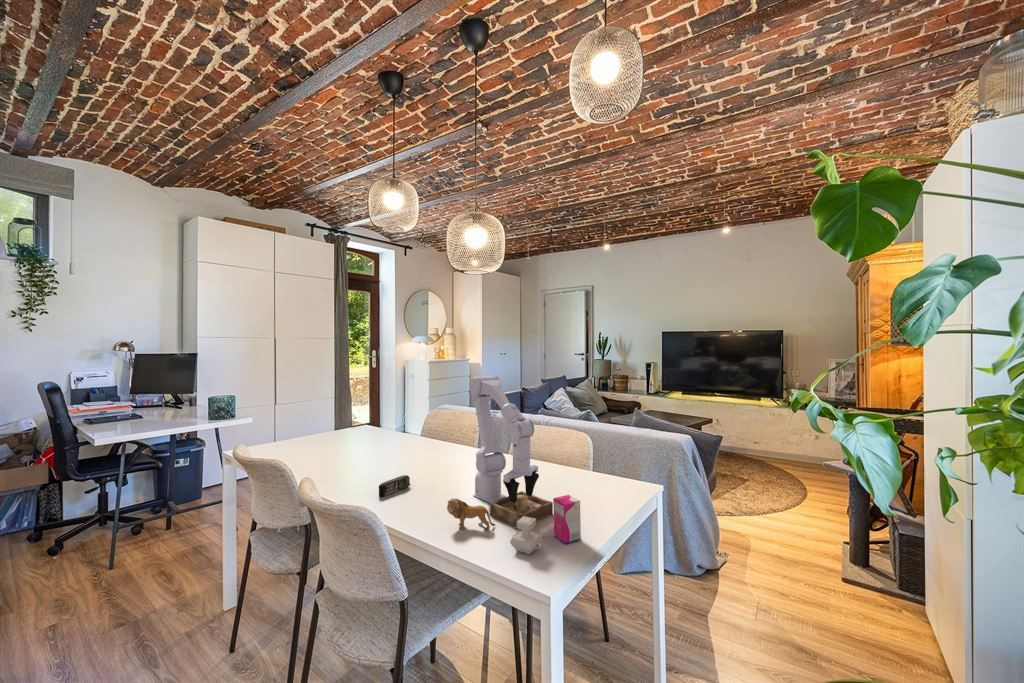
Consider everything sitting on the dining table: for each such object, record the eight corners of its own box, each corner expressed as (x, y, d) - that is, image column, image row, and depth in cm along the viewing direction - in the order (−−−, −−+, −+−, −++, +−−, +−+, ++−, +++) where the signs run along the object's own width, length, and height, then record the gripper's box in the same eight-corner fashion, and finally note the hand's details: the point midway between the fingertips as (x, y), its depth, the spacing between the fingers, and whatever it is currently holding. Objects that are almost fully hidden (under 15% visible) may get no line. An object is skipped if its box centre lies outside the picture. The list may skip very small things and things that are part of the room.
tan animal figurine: (446, 532, 123) (446, 502, 123) (448, 524, 128) (448, 495, 128) (495, 530, 124) (495, 501, 123) (495, 522, 129) (495, 494, 129)
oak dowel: (513, 515, 134) (513, 497, 134) (521, 511, 137) (521, 493, 137) (521, 519, 131) (521, 500, 131) (530, 515, 134) (530, 497, 134)
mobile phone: (382, 485, 148) (413, 473, 161) (376, 484, 150) (407, 471, 162) (382, 499, 148) (413, 485, 161) (377, 497, 150) (408, 484, 163)
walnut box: (490, 515, 134) (490, 503, 134) (521, 502, 145) (521, 491, 145) (521, 529, 124) (521, 516, 124) (552, 514, 135) (552, 502, 135)
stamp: (546, 549, 113) (546, 518, 113) (535, 560, 107) (535, 528, 107) (518, 540, 118) (518, 511, 118) (506, 550, 112) (506, 520, 112)
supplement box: (569, 531, 123) (569, 493, 123) (581, 540, 118) (581, 500, 118) (552, 536, 120) (553, 497, 120) (564, 545, 115) (564, 504, 115)
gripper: (514, 464, 126) (514, 508, 126) (545, 455, 137) (544, 495, 137) (499, 459, 131) (498, 501, 131) (529, 450, 141) (529, 489, 142)
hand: (521, 498), depth 134 cm, fingers open, 7 cm apart
